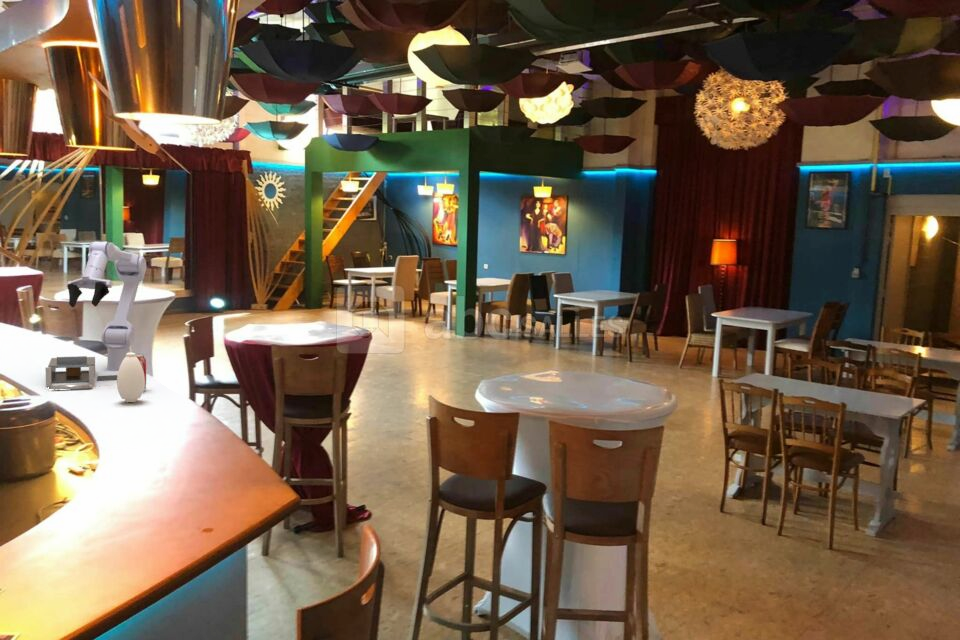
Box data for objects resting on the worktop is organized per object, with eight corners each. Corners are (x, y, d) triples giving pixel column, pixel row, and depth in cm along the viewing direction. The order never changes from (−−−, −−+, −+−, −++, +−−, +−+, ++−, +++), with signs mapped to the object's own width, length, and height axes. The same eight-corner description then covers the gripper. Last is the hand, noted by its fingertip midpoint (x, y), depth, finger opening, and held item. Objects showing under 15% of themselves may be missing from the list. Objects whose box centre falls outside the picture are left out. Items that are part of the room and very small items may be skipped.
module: (66, 373, 274) (66, 360, 273) (80, 373, 276) (80, 359, 275) (66, 376, 270) (65, 362, 269) (80, 375, 272) (80, 362, 271)
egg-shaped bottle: (142, 405, 237) (141, 346, 234) (114, 405, 235) (113, 346, 233) (147, 399, 244) (147, 342, 242) (120, 399, 243) (120, 342, 240)
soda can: (150, 389, 258) (150, 353, 256) (139, 394, 251) (138, 357, 249) (130, 388, 259) (129, 352, 257) (118, 392, 252) (117, 356, 250)
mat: (97, 377, 272) (97, 375, 272) (125, 376, 276) (125, 374, 276) (96, 382, 264) (96, 381, 264) (125, 381, 268) (125, 379, 268)
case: (51, 375, 273) (51, 355, 272) (96, 373, 279) (95, 354, 278) (46, 389, 252) (45, 367, 251) (94, 387, 258) (94, 366, 257)
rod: (48, 391, 249) (48, 386, 249) (49, 390, 250) (48, 385, 250) (93, 389, 254) (93, 384, 254) (93, 388, 256) (93, 383, 256)
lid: (51, 360, 271) (51, 352, 270) (94, 359, 276) (94, 351, 276) (48, 368, 257) (48, 359, 257) (93, 366, 263) (93, 358, 263)
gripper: (67, 265, 260) (55, 298, 252) (109, 263, 259) (98, 297, 252) (77, 277, 266) (66, 310, 258) (119, 276, 265) (108, 309, 257)
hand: (82, 305), depth 255 cm, fingers open, 7 cm apart
